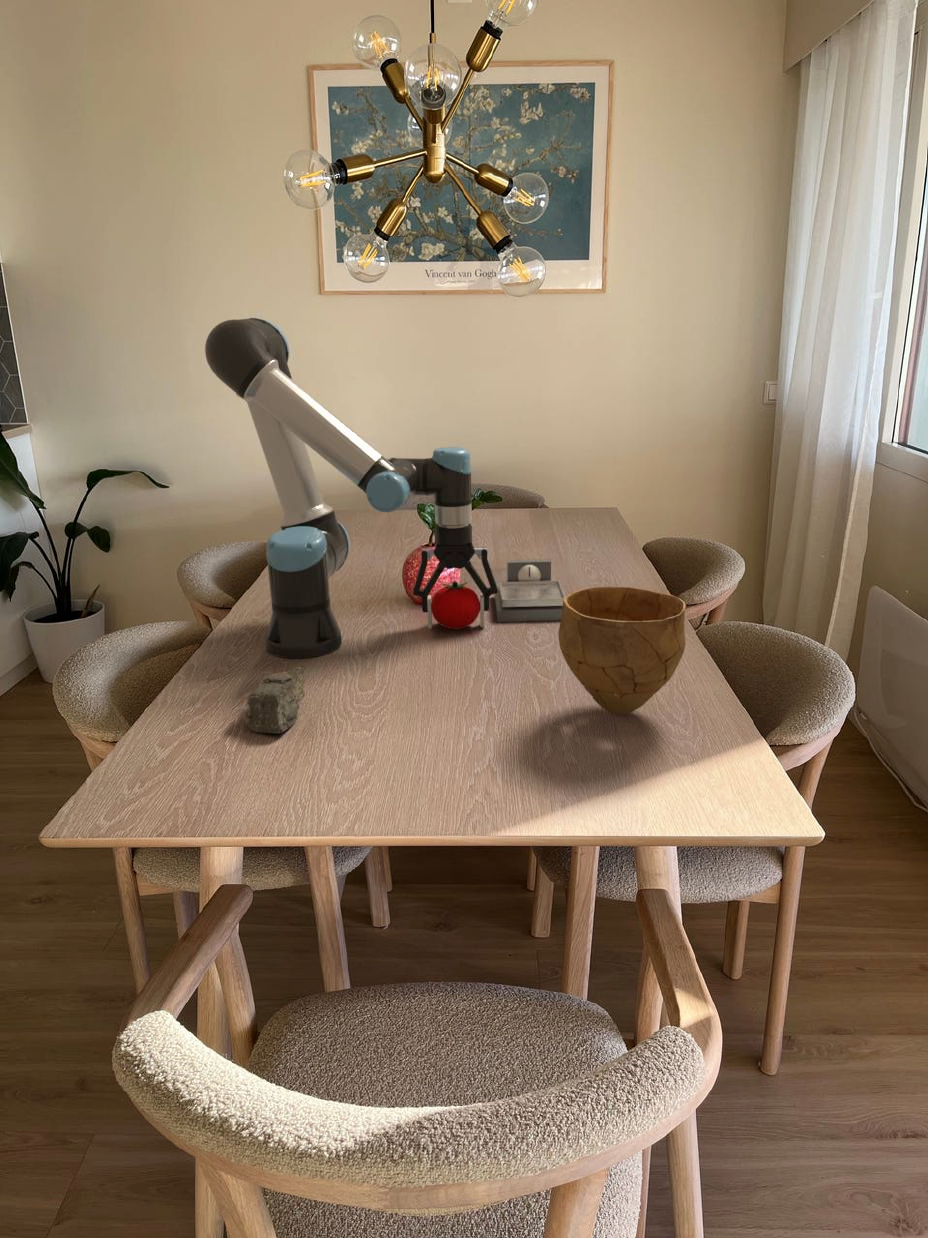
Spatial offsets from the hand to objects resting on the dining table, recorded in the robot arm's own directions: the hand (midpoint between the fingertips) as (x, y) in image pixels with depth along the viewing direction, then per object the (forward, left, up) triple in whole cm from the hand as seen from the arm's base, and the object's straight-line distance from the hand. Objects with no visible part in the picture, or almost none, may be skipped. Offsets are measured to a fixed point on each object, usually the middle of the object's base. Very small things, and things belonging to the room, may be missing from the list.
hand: (456, 625), depth 199 cm
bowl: (-46, -27, -1) cm, 53 cm away
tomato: (0, 0, -1) cm, 1 cm away
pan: (+11, -17, +2) cm, 20 cm away
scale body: (+12, -17, 0) cm, 21 cm away
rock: (-44, +30, -1) cm, 54 cm away
